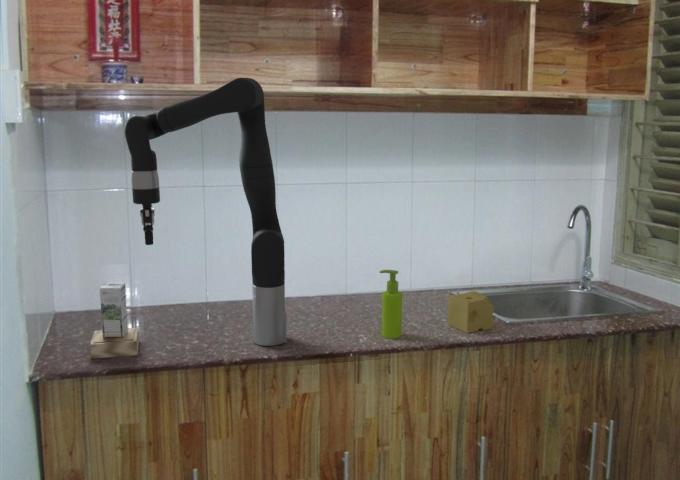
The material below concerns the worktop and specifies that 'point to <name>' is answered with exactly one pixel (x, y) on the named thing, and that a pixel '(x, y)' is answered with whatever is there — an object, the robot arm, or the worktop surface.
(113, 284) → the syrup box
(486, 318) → the cheese
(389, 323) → the soap dispenser
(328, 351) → the worktop surface
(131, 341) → the plinth
